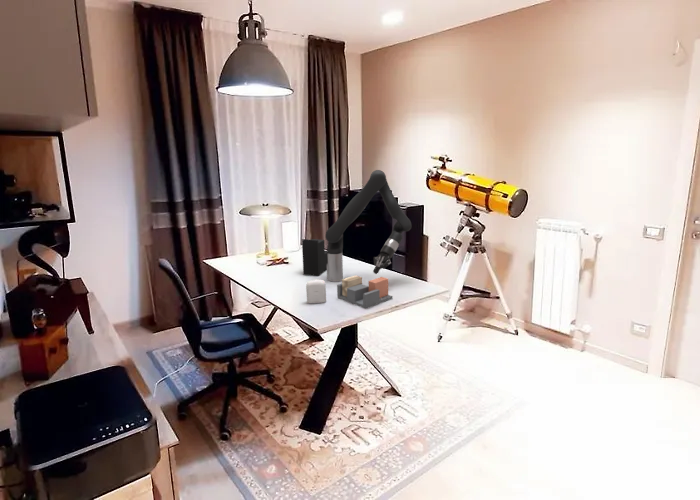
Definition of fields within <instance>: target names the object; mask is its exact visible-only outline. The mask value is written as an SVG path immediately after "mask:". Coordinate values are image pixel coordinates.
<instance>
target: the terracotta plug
mask: <svg viewBox="0 0 700 500" xmlns="http://www.w3.org/2000/svg"><path fill="white" fill-rule="evenodd" d="M368 286H369V292H370V291H373V290H376V289H378V290H380V298H381V297H384V296H386V295H389V278H387V277H384V276H379V277H377V278H374V279H370V280H368Z"/></svg>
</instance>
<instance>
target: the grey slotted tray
mask: <svg viewBox="0 0 700 500" xmlns="http://www.w3.org/2000/svg"><path fill="white" fill-rule="evenodd" d="M336 293H337V294H336V295H337V299H340V300H342V301H344V302H347V303H350V304H352V305H355V306H357V307H360V308H363V309H366V310H367V309H369V308H372V307H374V306H377V305H380V304H383V303H384V302H387V301H390V300H393V295H390V294H388V295H386V296H384V297H381V298H380V290H378V289H376V290H373V291H370V292H369V285H365V284H363V283H362V284H359V285H356V286H353V287H349V288H347V297H346V296H343V295H342V282H341V283H338V284H336Z"/></svg>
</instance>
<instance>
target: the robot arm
mask: <svg viewBox="0 0 700 500" xmlns="http://www.w3.org/2000/svg"><path fill="white" fill-rule="evenodd" d="M367 180H368V181H366V183H365V185H364V187H363V188H362V189H361V190H360V191H359V192H358V193H356V194H355V196H353V197H352V199H351V200H350V201H349V202H348V203H347V205H346V206H345V207H344V209H343V210H342V212H341V213H340V214H339V217H338V218H337V219H336V221H335V222H334V223H333V224H332V225H331V226H330V227H329V228H328V229H327V230H326V232H325V240H327V249H326V251H327V261H328V264H327V270H326V280H327V281H329V282H334V283H335V282H342V279H344V274H343V273H344V267H343V266H344V265H343V264H344V263H343V261H344V260H343V249H344V233H345V231H346V229H348V227H349V226H350V225H351V224H352V223H353V222H354V221H355V220H356V219H357V218H358V217H359V216H360V215H361V214H362V212H363V211H365V208H366V207H367V206H368V205H369V203H370V201H371V200H372V198H373V197H374V196H375V194H376V193H378V192H379V193H380V196H381V197H382V201H383V202H384V204H385V207H386V209H387V211H388V213H389V215H390V216H391V218H392V219H394V220H395V221H396V222H395V223H394V224H393V227H392V230H391V233H390V235H389V237H388V238H387V240H386V241H385V243H384V244H383V246H382V248H381V249H380V252H379V254H378V255H377V256H373V265H374V266H375V267H374V269H373V270H372V273H373V274H375V275H377V274H379V272H380V270H382V269H386V268H387V267H389V266H390V265H392V262H391V259H392V258H393V256H394V254H395V253H396V251H397V250H398V247H399V246H400V244H401V242H402V240H403V235H402V234H403V233H404V232H405V233H406V232H409V231H410V230H411V229H412V222H411V219H410V218H408V216H407V215H406V214H405V213H404V212H403V210H402V208H401V206H400V204H399V203H398V201H397V199H396V197H395V195H394V194H393V192H392V190H391V188H390V185H389V183H388V180H387V175H386V174H385V172H384V171H382V170H380V169H375V170H374V171H372V172H371V174H370V176H369V179H367Z"/></svg>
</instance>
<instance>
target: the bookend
mask: <svg viewBox="0 0 700 500" xmlns="http://www.w3.org/2000/svg"><path fill="white" fill-rule="evenodd" d="M301 248H302V249H301V250H302V271H303V272H302V273H303V275H304V276H314V277H319V276H321V274H323V273H325V272H327V264H328V261H327V250H326V249H325V240H324V239H316V238H315V239H314V238H312V239H308V238H307V239H304V238H302V239H301Z"/></svg>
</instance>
